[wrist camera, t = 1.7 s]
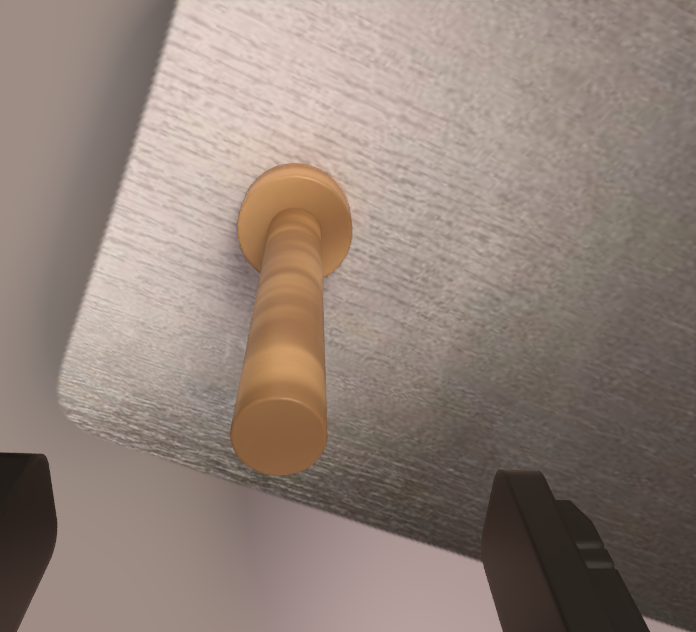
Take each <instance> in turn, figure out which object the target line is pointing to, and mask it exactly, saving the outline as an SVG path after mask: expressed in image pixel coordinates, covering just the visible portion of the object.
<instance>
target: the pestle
mask: <svg viewBox="0 0 696 632" xmlns="http://www.w3.org/2000/svg"><path fill="white" fill-rule="evenodd" d="M237 236H238V241H239V245H240V247H241V250H242V252H243V254H244V256H245V258H246V259H247V260H248V262H249V263H250V264H251V265H252V266H253V268H255V269H256V270H257V271H258V272H259V273H260V277H259V283H258V288H257V293H256V298H255V304H254V309H253V314H252V319H251V325H250V330H249V335H248V340H247V346H246V351H245V356H244V361H243V367H242V372H241V377H240V382H239V388H238V393H237V398H236V403H235V409H234V414H233V419H232V424H231V430H230V440H231V444H232V447H233V449H234V451H235V453H236V455H237V456H238V457H239V459H240V460H241V461H242V462H243V463H244V464H246V465H247V466H248V467H250V468H251V469H253V470H255V471H258V472H260V473H263V474H267V475H274V476H284V475H291V474H295V473H298V472H301V471H303V470H305V469H307V468H308V467H310V466H311V465H312V464H314V463H315V462H316V461H317V460H318V459H319V457H320V456H321V454H322V453H323V451H324V449H325V446H326V443H327V407H326V374H325V341H324V309H323V278H324V277H326V276H328V275H329V274H331V273H332V272H333V271H334V270H335V269H336V268H338V266H339V265H340V264H341V263H342V262H343V260H344V258H345V257H346V255H347V253H348V251H349V248H350V245H351V240H352V221H351V215H350V209H349V204H348V201H347V198H346V196H345V194H344V192H343V190H342V188H341V187H340V186H339V184H338V183H337V182H336V181H335V180H334V179H333V178H332V177H331V176H329V175H328V174H327V173H325V172H324V171H322V170H320V169H318V168H315V167H313V166H309V165H305V164H285V165H281V166H277V167H274V168H272V169H270V170H268V171H266V172H265V173H263V174H262V175H261V176H259V177H258V178H257V179H256V180H255V181H254V182H253V184H252V185H251V186H250V188H249V190H248V191H247V193H246V196H245V198H244V201H243V204H242V207H241V210H240V213H239V217H238V222H237Z"/></svg>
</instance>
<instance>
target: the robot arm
mask: <svg viewBox="0 0 696 632" xmlns="http://www.w3.org/2000/svg"><path fill="white" fill-rule="evenodd" d="M56 536H57V517H56V510H55V503H54V497H53V490H52V483H51V476H50V470H49V463H48V460H47V458H46V456H45V455H44V454H31V453H29V454H28V453H0V632H17V630H18V628H19V626H20V624H21V621H22V619H23V617H24V615H25V613H26V611H27V608H28V606H29V604H30V602H31V600H32V598H33V596H34V593H35V592H36V589H37V587H38V585H39V583H40V581H41V579H42V577H43V574H44V572H45V570H46V568H47V566H48V564H49V561H50V559H51V557H52V554H53V551H54V547H55V543H56ZM482 559H483V565H484V569H485V573H486V576H487V579H488V583H489V586H490V590H491V593H492V596H493V599H494V603H495V606H496V610H497V613H498V617H499V620H500V623H501V627H502V630H503V632H650V631H649V629H648V627H647V625H646V623H645V621H644V619H643V617H642V616H641V614H640V612H639V610H638V608H637V606H636V604H635V602H634V600H633V598H632V597H631V595H630V593H629V591H628V589H627V587H626V585H625V583H624V581H623V580H622V578H621V576H620V574H619V572H618V570H615V568H614V565H615V564H614V562H613V561H612V559H611V557H610V555H609V553H608V551H607V550H605V549H604V544H603V542H602V540H601V538H600V536H599V534H598V532H597V530H596V528H595V526H594V525H593V523H592V521H591V520H590V519H589V518H588V517H587V516H586V515H585V514H584V513H583V512H581V511H580V510H579V509H578V508H577V507H576V506H575V505H574V504H573V503H572V502H571V501H570V500H555V498H554V496H553V494H552V492H551V490H550V488H549V486H548V484H547V481H546V479H545V477H544V476H543V474H542V473H541V472H540V471H524V470H498V471H497V473H496V475H495V478H494V482H493V487H492V491H491V496H490V501H489V505H488V510H487V515H486V519H485V524H484V529H483V534H482Z"/></svg>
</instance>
